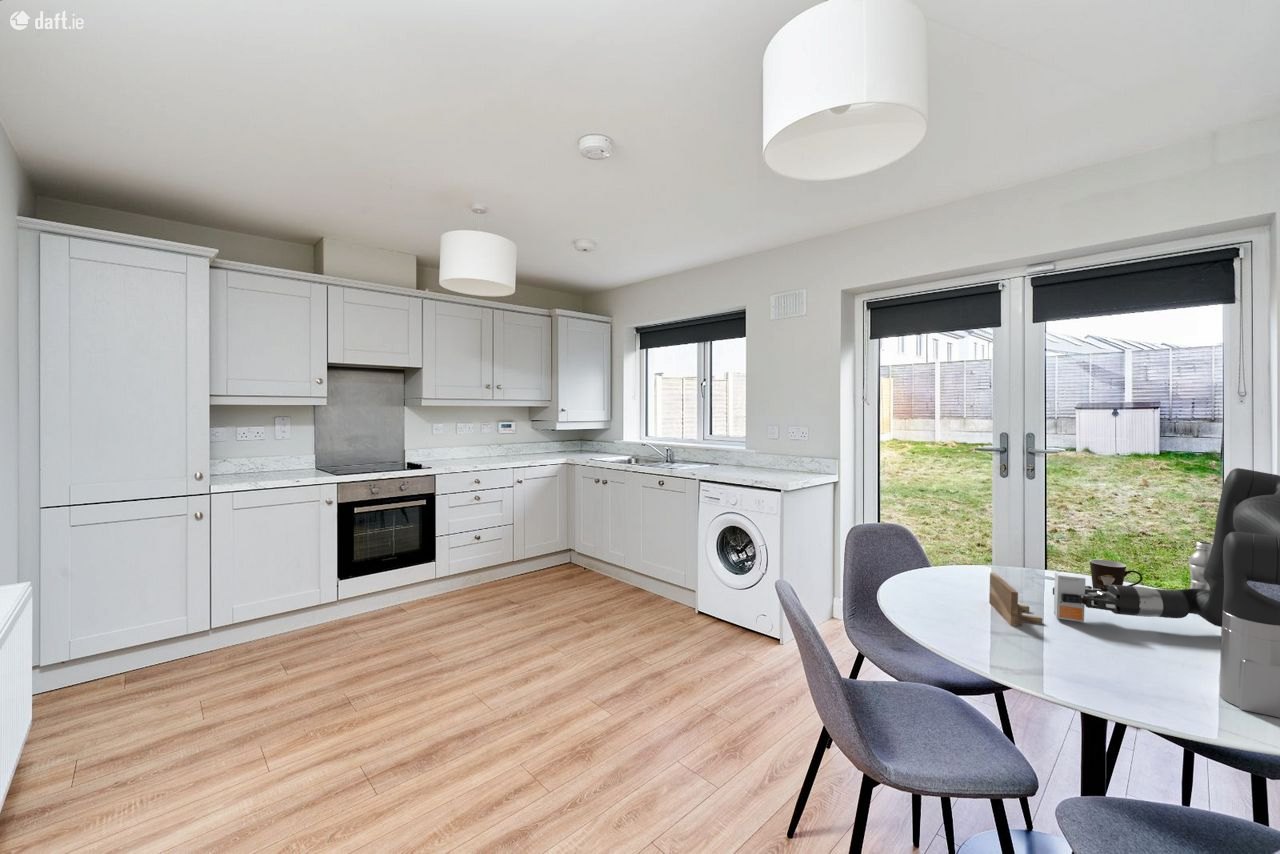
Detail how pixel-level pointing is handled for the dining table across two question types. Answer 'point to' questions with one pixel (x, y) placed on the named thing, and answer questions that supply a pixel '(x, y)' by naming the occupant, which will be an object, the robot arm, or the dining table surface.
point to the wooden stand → (1008, 602)
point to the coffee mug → (1108, 573)
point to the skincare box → (1068, 585)
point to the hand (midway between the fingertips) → (1057, 594)
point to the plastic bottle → (1199, 565)
